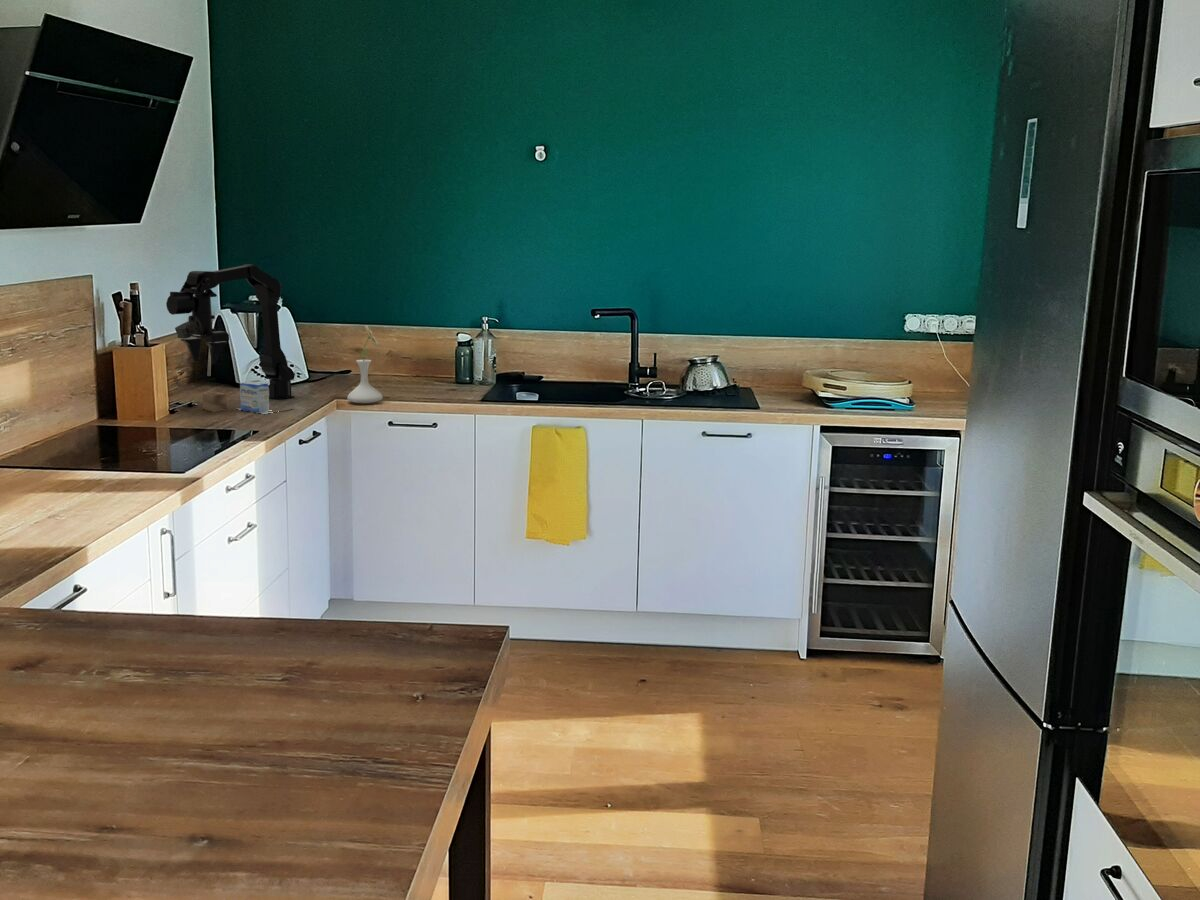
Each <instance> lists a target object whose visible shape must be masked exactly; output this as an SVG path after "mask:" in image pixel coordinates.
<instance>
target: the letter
mask: <svg viewBox="0 0 1200 900" xmlns="http://www.w3.org/2000/svg"><path fill="white" fill-rule="evenodd" d="M237 409H238V410H237V411H241V407H240V408H239V407H238V408H237ZM269 411H272V410H269ZM249 413H253V412H252V411H250V412H249ZM258 413H261V414H260V415H264V414H265V415H269V414H268V413H271V414H274V413H273V412H268V411H265V412H256V413H255V414H258ZM277 413H280V412H279V411H278V412H277Z"/></svg>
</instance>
